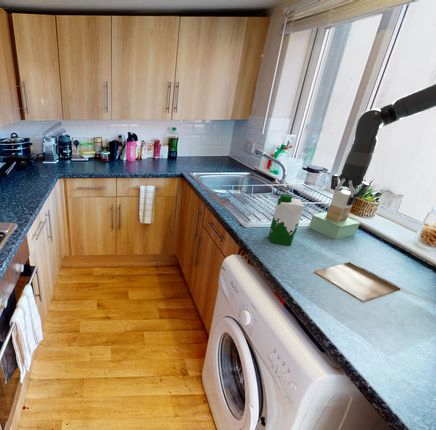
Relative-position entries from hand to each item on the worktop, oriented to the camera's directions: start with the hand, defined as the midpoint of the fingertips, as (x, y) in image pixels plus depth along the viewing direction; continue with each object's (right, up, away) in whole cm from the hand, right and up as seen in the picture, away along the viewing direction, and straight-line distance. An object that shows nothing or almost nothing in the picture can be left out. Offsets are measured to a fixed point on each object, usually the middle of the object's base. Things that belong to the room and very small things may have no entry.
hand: (341, 202), depth 120 cm
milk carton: (-26, -16, +1) cm, 30 cm away
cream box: (0, -1, +1) cm, 1 cm away
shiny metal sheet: (-14, -27, -23) cm, 39 cm away
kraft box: (0, -7, +3) cm, 7 cm away
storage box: (0, -14, +6) cm, 15 cm away
